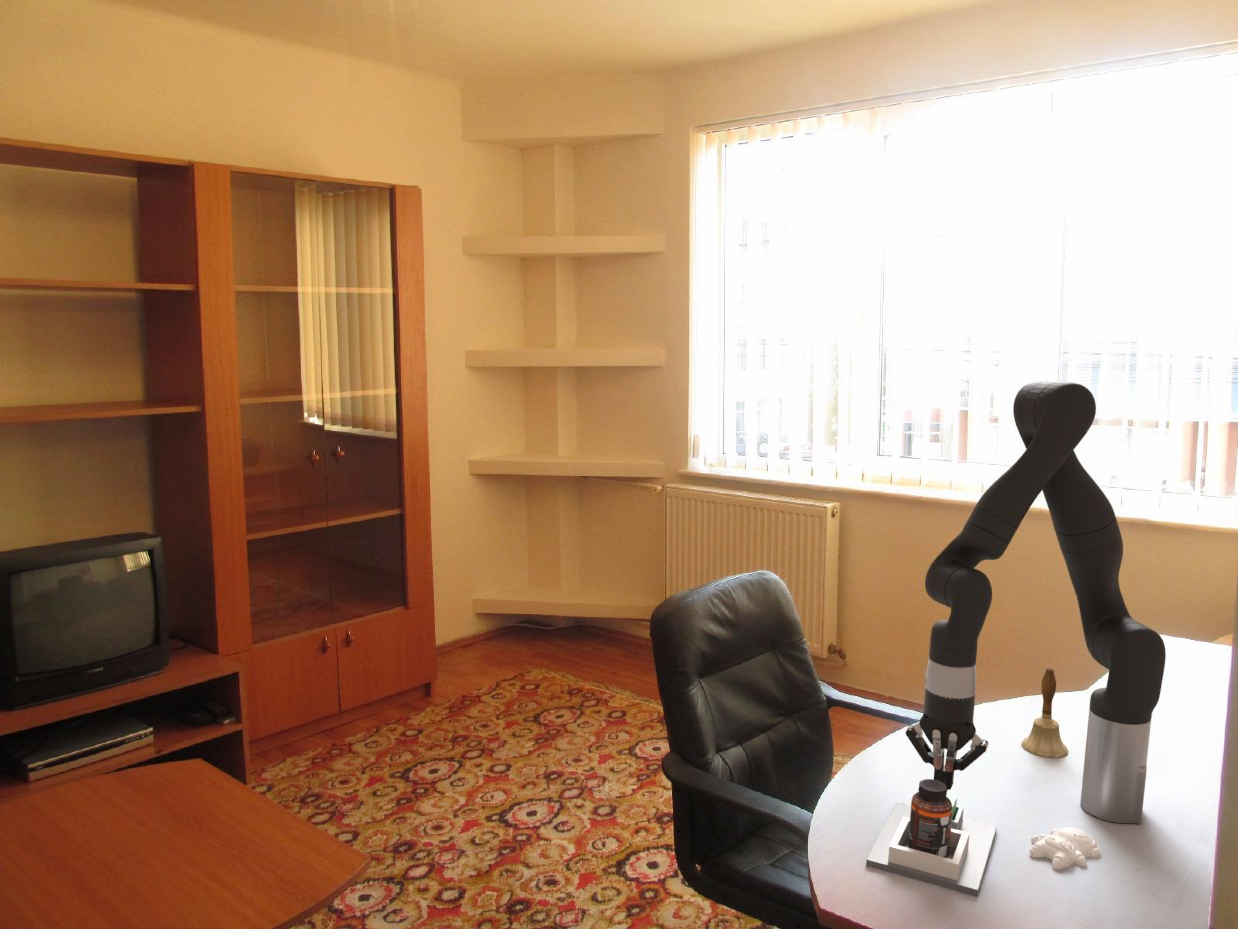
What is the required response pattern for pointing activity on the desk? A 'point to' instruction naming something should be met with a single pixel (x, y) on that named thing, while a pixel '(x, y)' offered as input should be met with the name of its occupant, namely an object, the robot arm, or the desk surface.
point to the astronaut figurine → (1065, 847)
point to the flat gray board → (953, 872)
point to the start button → (953, 804)
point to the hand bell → (1046, 725)
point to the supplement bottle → (930, 819)
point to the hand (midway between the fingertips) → (942, 789)
